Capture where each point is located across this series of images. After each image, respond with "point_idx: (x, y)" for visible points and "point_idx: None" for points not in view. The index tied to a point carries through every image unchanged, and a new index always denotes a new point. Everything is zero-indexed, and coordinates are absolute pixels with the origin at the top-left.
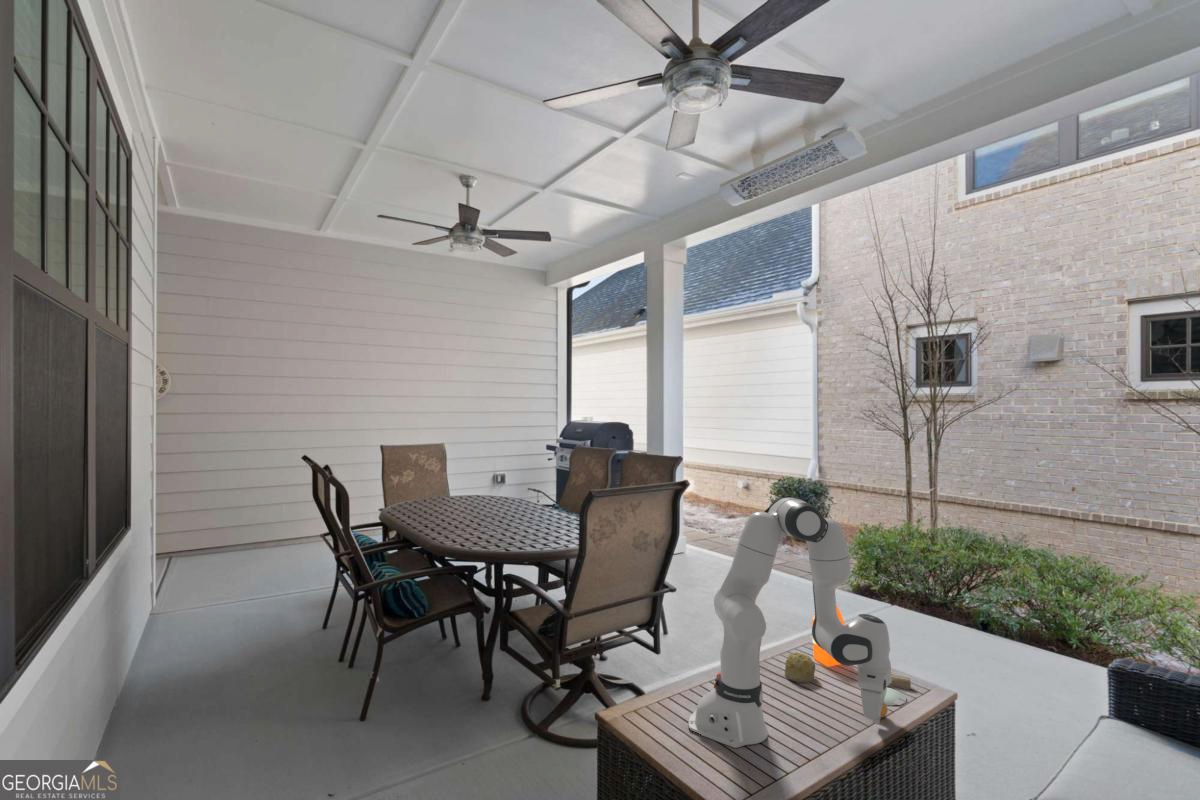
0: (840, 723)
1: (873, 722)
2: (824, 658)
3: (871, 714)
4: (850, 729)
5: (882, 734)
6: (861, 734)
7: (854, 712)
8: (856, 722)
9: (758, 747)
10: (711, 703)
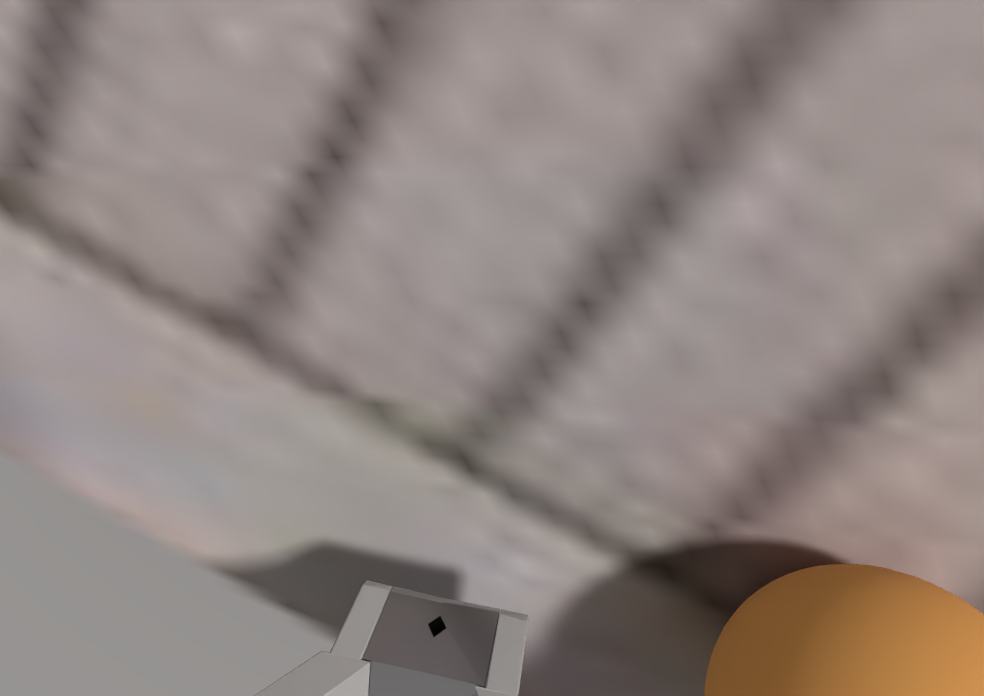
0: (329, 30)
1: (362, 585)
2: None
3: None
4: (222, 211)
5: (329, 587)
6: (177, 359)
7: (885, 280)
8: (499, 304)
9: None
10: None
